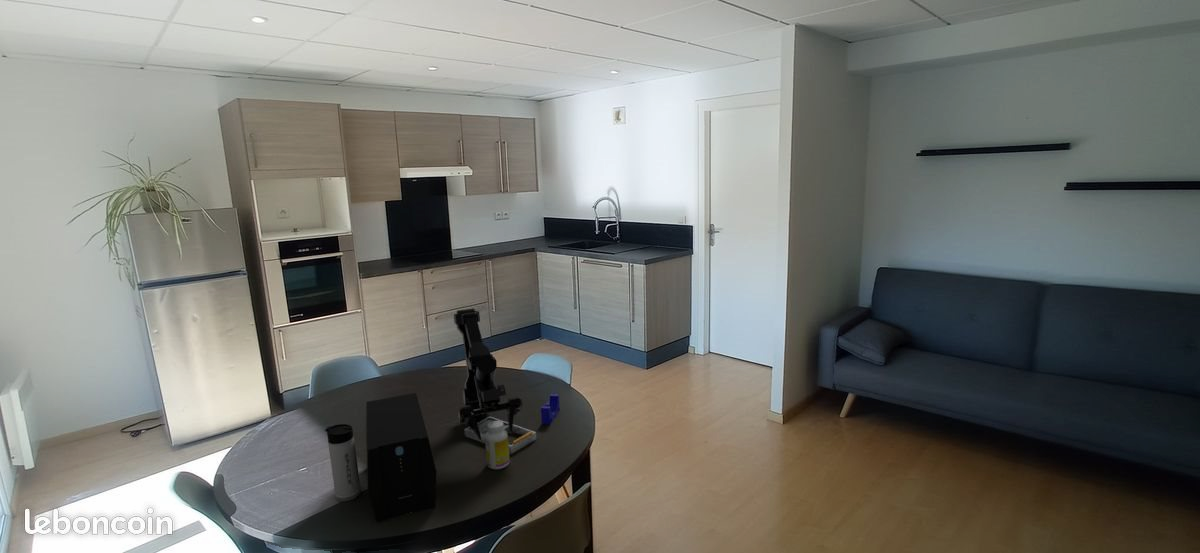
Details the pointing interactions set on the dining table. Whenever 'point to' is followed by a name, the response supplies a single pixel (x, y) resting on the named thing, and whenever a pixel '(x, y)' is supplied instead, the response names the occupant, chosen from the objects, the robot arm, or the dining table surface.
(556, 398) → the cable clip
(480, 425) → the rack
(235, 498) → the dining table surface
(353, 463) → the travel mug
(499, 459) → the supplement bottle
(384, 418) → the uninterruptible power supply
